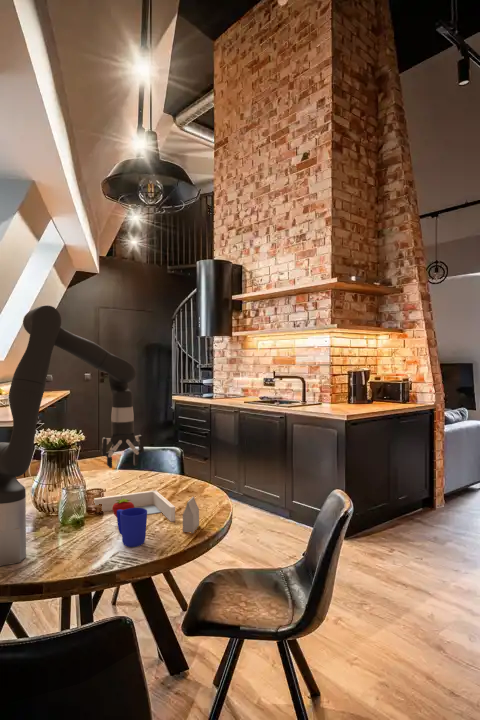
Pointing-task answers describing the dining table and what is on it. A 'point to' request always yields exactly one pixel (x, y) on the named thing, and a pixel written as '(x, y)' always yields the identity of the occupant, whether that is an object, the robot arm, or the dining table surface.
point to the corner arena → (141, 503)
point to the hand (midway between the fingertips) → (122, 466)
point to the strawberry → (122, 505)
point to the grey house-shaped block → (191, 516)
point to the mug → (132, 526)
